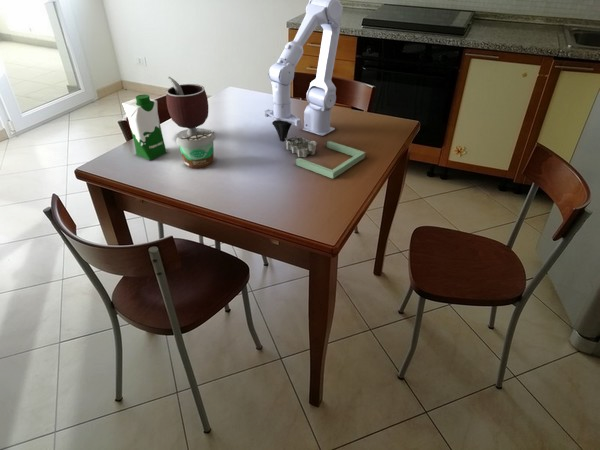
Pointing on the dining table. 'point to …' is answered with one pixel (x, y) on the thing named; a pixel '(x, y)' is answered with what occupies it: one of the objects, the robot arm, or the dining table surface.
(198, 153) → the food container
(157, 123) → the milk carton
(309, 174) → the dining table surface
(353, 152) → the frame
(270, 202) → the dining table surface
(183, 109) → the mate gourd
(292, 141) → the egg carton
